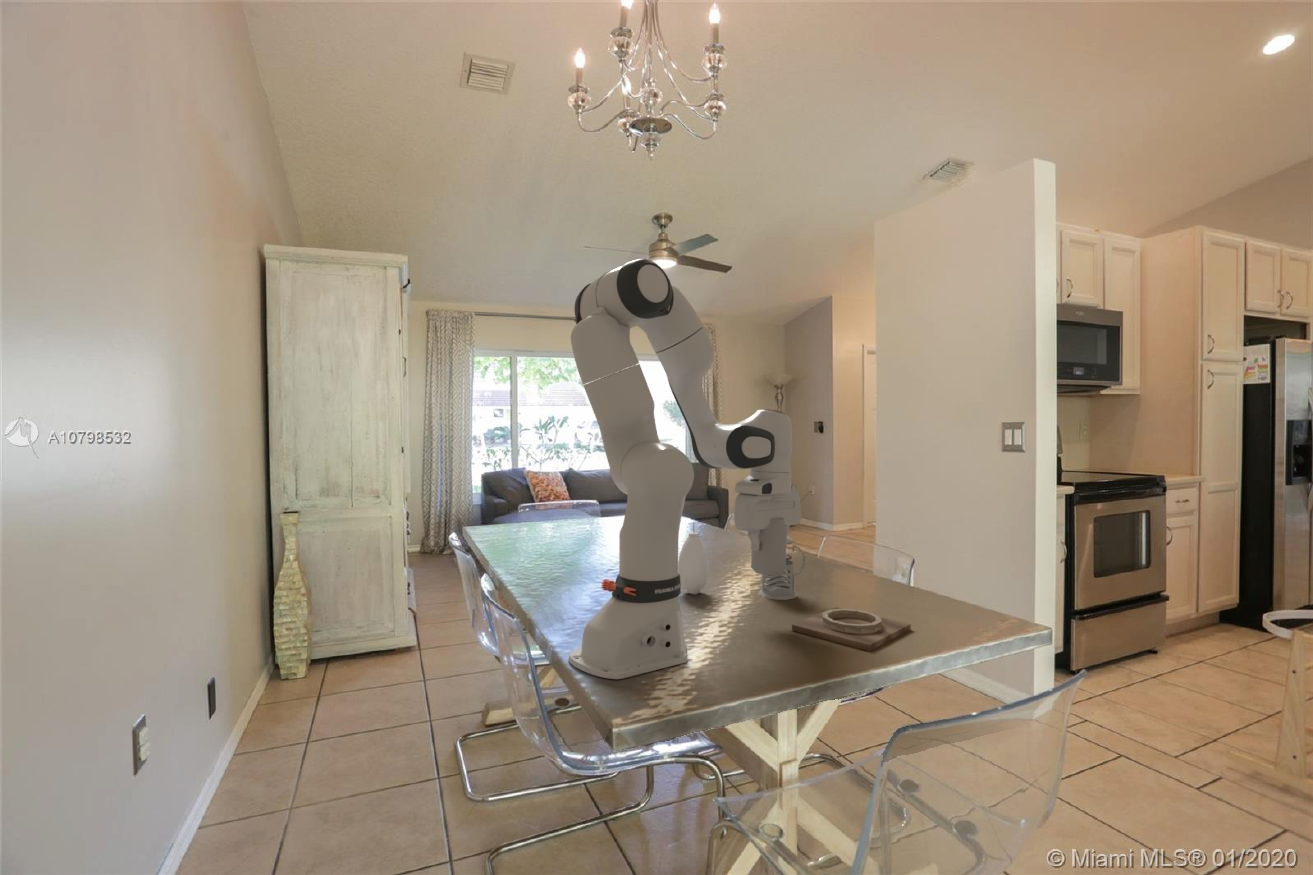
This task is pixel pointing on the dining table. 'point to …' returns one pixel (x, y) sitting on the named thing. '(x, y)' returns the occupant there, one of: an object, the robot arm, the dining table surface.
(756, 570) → the can
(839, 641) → the seat board
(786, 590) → the french press
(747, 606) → the dining table surface
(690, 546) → the sauce bottle
